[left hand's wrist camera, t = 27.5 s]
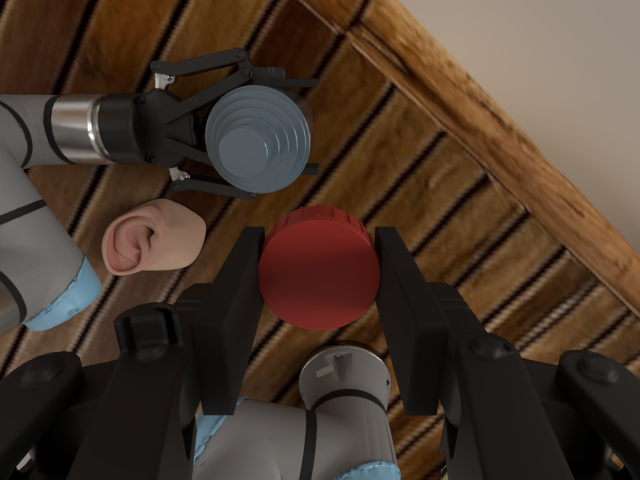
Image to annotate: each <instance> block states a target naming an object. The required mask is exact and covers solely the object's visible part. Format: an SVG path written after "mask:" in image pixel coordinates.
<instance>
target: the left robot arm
mask: <svg viewBox="0 0 640 480" xmlns="http://www.w3.org/2000/svg"><path fill="white" fill-rule="evenodd" d="M264 241H265V229H264V227H245V228H244V229H243V231H242V233H241V235H240V236H239V238H238V240H237V241H236V243H235V245H234V247H233V248H232V250H231V252H230V254H229V255H228V257H227V259H226V261H225V262H224V264H223V266H222V267H221V269H220V271H219V273H218V274H217V276H216V278H215V280H214V281H213V283H195V284H193V285H192V286H190V287H189V288H187V289H186V290H184V291H183V292H182V293H181V294H180V296H179V297H178V299H177V300H176V303H174V304H173V305H172V304H168V303H164V302H152V303H147V304H142V305H138V306H136V307H133V308H130V309H128V310H126V311H125V312H123V313H122V314H120V315H119V316H118V317H117V318H116V319H115V320H114V321H113V323H114V327H115V331H116V335H117V339H118V343H119V347H120V352H121V354H120V356H119V359H117V360H113V361H109V362H105V363H100V364H95V365H90V366H85V367H82V364H81V360H80V357H79V356H77V355H76V354H75V353H72V352H66V351H62V352H52V353H47V354H45V355H44V354H43V355H41V356H38V357H35V358H34V359H32V360H30V361H27V362H25V363H23V364H22V365H20V366H19V367H18V368H16V369H15V370H13V371H12V372H11V373H10V374H8V375H7V376H6V377H5V378H4V379H3V380H2V381H0V480H400V478H401V474H400V469H399V468H398V465H397V460H396V456H395V451H394V446H393V441H392V437H391V432H390V427H389V423H388V418H387V413H386V410H387V404H388V399H389V393H390V389H391V377H390V373H389V369H388V365H387V363H386V361H385V359H384V358H383V357H382V356H381V354H380V353H379V352H377V351H376V350H375V349H373V348H372V347H370V346H368V345H365V344H363V343H359V342H355V341H336V342H331V343H328V344H325V345H323V346H321V347H319V348H317V349H316V350H314V351H313V352H312V353H311V354H309V356H308V357H307V358H306V359H305V361H304V362H303V364H302V366H301V370H300V376H299V390H300V393H301V396H302V399H303V401H304V403H305V405H306V408H307V410H306V409H302V408H297V407H291V406H286V405H281V404H276V403H271V402H265V401H260V400H255V399H250V398H249V397H247V396H243V397H239V393H240V390H241V386H242V382H243V378H244V375H245V371H246V367H247V364H248V360H249V356H250V353H251V349H252V345H253V342H254V338H255V334H256V330H257V327H258V323H259V319H260V316H261V312H262V308H263V305H264V299H263V298H262V295H261V293H260V284H259V269H258V262H259V259H260V256H261V254H262V251H263V249H262V246H263V244H264ZM374 245H375V249H376V251H377V254H378V257H379V260H380V262H379V264H380V271H381V278H380V285H379V289H378V292H377V295H376V297H375V302H376V305H377V309H378V313H379V317H380V320H381V324H382V328H383V331H384V335H385V339H386V342H387V346H388V350H389V353H390V357H391V361H392V365H393V368H394V372H395V376H396V379H397V383H398V387H399V390H400V394H401V398H402V402H403V405H404V409H405V413H406V415H437V408H438V402H439V399H440V401H441V404H442V406H443V409H444V411H445V419H444V425H443V431H442V437H441V443H440V449H439V453H444V450H445V454H446V464H447V473H448V480H640V379H639V378H637V377H636V376H635V375H634V374H633V373H632V372H630V371H629V370H628V369H627V368H625V367H624V366H622V365H621V364H619V363H618V362H616V361H614V360H612V359H610V358H608V357H606V356H604V355H602V354H599V353H595V352H591V351H585V350H570V351H566V352H564V353H563V354H562V355H561V356H560V359H559V363H558V366H557V365H552V364H548V363H543V362H538V361H533V360H529V359H525V358H521V356H520V353H519V352H518V350H517V349H516V348H515V346H514V345H513V344H511V343H510V342H508V341H507V340H506V339H504V338H502V337H499V336H497V335H495V334H491V333H487V331H486V330H485V329H484V327H483V326H482V324H481V323H480V321H479V320H478V319H477V317H476V316H475V314H474V313H473V312H472V310H471V309H469V306H468V305H467V303H466V302H465V301H464V299H463V298H462V296H461V295H460V293H459V292H458V291H457V290H456V289H455V288H453V287H452V286H450V285H449V284H447V283H446V282H426V280H425V278H424V277H423V275H422V273H421V271H420V270H419V268H418V266H417V264H416V263H415V261H414V259H413V258H412V256H411V254H410V252H409V251H408V249H407V247H406V245H405V244H404V242H403V240H402V238H401V237H400V235H399V233H398V231H397V230H396V228H395V227H375V242H374ZM200 400H201V403H202V412H201V414H200V415H199V417H198V419H197V421H196V419H195V413H196V410H197V408H198V405H199V402H200ZM611 451H613V452H614V453H615V454H616V456H617V457H618V458H619V459H620V460H621V462H622V463H623V464H624V467H623V468H622V469H621V468H620V467H618V466H617V465H616V464H615V463H614V461H613V460H612V459H611V458H610V453H611ZM28 452H29V454H30V456H31V458H30V460H29V461H28V462H27V463H26V464H25V465H24V466H23V467H22V468H21V469H20V470H18V469H17V467H16V466H17V465H18V464H19V463H20V462H21V460H22V459H23V458H24V457H25V456H26V454H27V453H28Z"/></svg>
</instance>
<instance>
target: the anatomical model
mask: <svg viewBox="0 0 640 480" xmlns="http://www.w3.org/2000/svg"><path fill="white" fill-rule="evenodd" d="M205 233H206V225H205V222H204V220H203V219H202V218H201V217H200V216H198V215H197V214H196V213H194V212H193V211H191V210H189V209H187V208H186V207H184V206H182V205H180V204H178V203H176V202H173V201H171V200H168V199H155V200H152V201H149V202H146V203H144V204H141V205H139V206H137V207H135V208H133V209H131V210H130V211H128V212H127V213H125V214H123V215H121V216H119V217H118V218H116V219H115V220H114V221H113V222H111V224H110V225H109V226H108V228H107V229H106V231H105V234H104V236H103V240H102V255H103V259H104V263H105V265H106V267H107V269H108V270H109V271H110V272H111V273H112V274H115V275H128V274H132V273H136V272H138V271H141V270H171V269H178V268H183V267H186V266H188V265H190V264H191V263H192V262H193V261H194V260H195V259H196V257H197V256H198V254H199V252H200V250H201V248H202V245H203V242H204V238H205Z"/></svg>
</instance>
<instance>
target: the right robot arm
mask: <svg viewBox="0 0 640 480" xmlns="http://www.w3.org/2000/svg"><path fill="white" fill-rule="evenodd" d="M237 64H238V66H239V68H240V70H239V71H238V72H236V73H234V74H232V75H230V76H228V77H227V78H225V79H223V80H221V81H219V82H217V83H216V84H214V85H212V86H210V87H208V88H207V89H205V90H203V91H201V92H199V93H197V94H196V95H194V96H191V97H189V98H187V99H185V100H182V99H180V98H179V97H178V96H176V95H175V94H173V93H172V92H170V91H169V90H168V87H169V85H171V84H175V83H176V82H177V81H178V76H179V77H185V76H190V75H195V74H199V73H203V72H207V71H212V70H216V69H220V68H224V67H229V66H233V65H237ZM150 68H151V70H152V71H153V72H154V73H155V89H153V90H151V91H150V92H148V93H118V94H108V95H105V94H65V95H6V94H0V338H2V337H3V336H5V335H6V334H7V333H9V332H10V331H12V330H13V329H15V328H16V327H17V326H18V325H19V324H21V323H22V324H25V325H26V326H27V327H28V328H29V329H30V330H33V331H43V330H47V329H50V328H52V327H55V326H57V325H59V324H61V323H63V322H65V321H66V320H68V319H70V318H71V317H72V316H74V315H75V314H77V313H79V312H81V311H82V310H84V309H85V308H87V307H88V306H89V305H90V304H92V303H93V302H94V301H95V300H96V299H97V297H98V296H99V295H100V293H101V290H102V284H101V281H100V280H99V278H98V276H97V275H96V273H95V271H94V270H93V268H92V266H91V265H90V263H89V262H88V260H87V257H86V255H85V253H83V252H82V251H81V250H80V249H79V248H78V246H77V245H76V244H75V242H74V241H73V240H72V238H71V237H70V235H69V234H68V233H67V231H66V230H65V229H64V227H63V226H62V225H61V223H60V222H59V221H58V219H57V218H56V217H55V215H54V214H53V213H52V211H51V210H50V209H49V207H48V206H47V204H46V202H45V201H44V200H43V198H42V196H41V195H40V194H39V192H38V191H37V189H36V188H35V187H34V185H33V184H32V182H31V181H30V180H29V178H28V177H27V175H26V174H25V173H24V171H23V170H22V169H26V168H30V167H34V166H40V165H60V164H82V165H105V164H117V163H120V164H159V165H162V166H164V167H166V168H169V171H170V175H171V178H172V181H173V182H172V183H171V184H170V188H171V189H172V190H173V191H175V192H178V191H184V190H190V189H192V190H197V191H203V192H209V193H214V194H220V195H225V196H231V197H236V198H242V199H248V200H253V199H255V198H256V196H257V195H258V193H252V192H247V191H244V190H241V189H239V188H237V187H235V186H233V185H232V184H230V183H229V182H228V181H226V180H224V179H219V178H213V177H208V176H202V175H192V174H191V173H190V172H189V171H188V170H183V169H181V167H180V164H181V163H183V162H184V161H185V160H186V159H187V158H191V159H193V160H195V161H198V162H203V163H205V164H208V165H210V166H212V167H214V165H213V164H212V162H211V160H210V158H209V155H208V152H207V148H206V145H204V144H201V142H202V136H201V133H200V131H199V114H197V113H196V112H197V111H199V110H201V109H203V108H204V107H206V106H207V105H209V104H211V103H213V102H215V101H216V100H218V99H220V98H222V97H223V96H224V95H226V94H227V93H228V92H230V91H232V90H234V89H237V88H239V87H242V86H244V85H246V84H248V83H250V82H252V81H254V85H260V86H269V87H318V81H317V79H286V70H285V69H283V68H280V67H255V66H253V64H252V62H251V60H250V57H249V53H248V52H247V51H245V50H244V49H242V48H234V49H230V50H226V51H221V52H217V53H213V54H209V55H205V56H201V57H196V58H192V59H188V60H184V61H180V62H176V63H168V62H162V61H152V62H151V64H150ZM318 172H319V164H318V163H313V164H306V165H305V167H304V169H303V171H302V172H301V174H300V175H315V174H318Z"/></svg>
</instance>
